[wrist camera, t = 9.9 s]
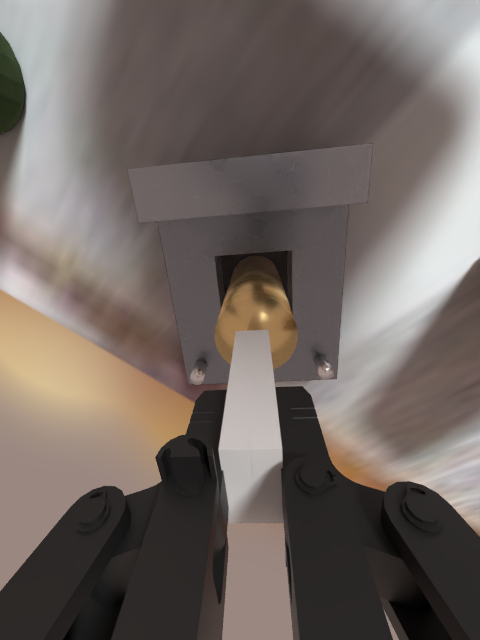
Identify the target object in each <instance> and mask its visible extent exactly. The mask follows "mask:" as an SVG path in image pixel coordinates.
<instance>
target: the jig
mask: <svg viewBox="0 0 480 640" xmlns="http://www.w3.org/2000/svg"><path fill="white" fill-rule="evenodd" d="M372 149H373V143H370V144H360V145H351V146H341V147H331V148H322V149H312V150H303V151H293V152H283V153H274V154H264V155H255V156H245V157H235V158H226V159H216V160H206V161H197V162H187V163H178V164H168V165H158V166H149V167H139V168H129V169H127V171H128V175H129V180H130V185H131V189H132V194H133V199H134V203H135V208H136V213H137V217H138V222H139V223H140V222H152V221H157V222H158V227H159V233H160V238H161V243H162V248H163V254H164V259H165V264H166V269H167V275H168V280H169V285H170V291H171V296H172V301H173V306H174V312H175V317H176V322H177V327H178V333H179V338H180V343H181V349H182V354H183V359H184V364H185V370H186V375H187V380H188V385H193V384H195V385H199V384H219V383H228V381H229V374H230V367H231V365H230V364H229V363H228V362H226V361H225V360H224V359H223V357H222V356H221V355H220V353H219V351H218V349H217V347H216V343H215V336H214V334H215V327H216V324H217V321H218V317H219V314H220V311H221V308H222V305H223V302H224V299H225V292H224V283H223V274H222V265H221V256H222V255H236V254H249V253H262V252H275V251H287V273H288V302H289V305H290V308H291V311H292V314H293V317H294V320H295V323H296V326H297V330H298V341H297V345H296V348H295V350H294V352H293V354H292V355H291V357H290V358H289V359H288V360H287V361H286V362H285V363H284V364H282V365H281V366H279V367H278V368H276V369H273V373H274V381H299V380H329V379H337V369H338V354H339V339H340V324H341V310H342V295H343V280H344V265H345V250H346V236H347V221H348V206H349V204H358V203H368V192H369V181H370V171H371V160H372Z"/></svg>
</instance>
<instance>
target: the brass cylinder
mask: <svg viewBox="0 0 480 640" xmlns="http://www.w3.org/2000/svg"><path fill="white" fill-rule="evenodd" d="M268 329H269V338H270V347H271V355H272V364H273V369H276V368H278V367H279V366H281V365H282V364H284V363H285V362H286V361H287V360H288V359H289V358H290V357H291V355H292V354H293V352H294V350H295V348H296V345H297V341H298V330H297V326H296V323H295V320H294V317H293V314H292V311H291V308H290V305H289V302H288V299H287V296H286V293H285V291H284V288H283V285H282V282H281V279H280V276H279V273H278V270H277V268H276V266H275V265H274V264H273V263H272V262H271V261H270V260H269V259H267V258H265V257H261V256H250V257H247V258H245V259H243V260H242V261H240V262H239V263H238V264H237V266H236V267H235V269H234V271H233V274H232V277H231V280H230V283H229V286H228V289H227V293H226V296H225V299H224V302H223V305H222V308H221V311H220V314H219V317H218V321H217V324H216V327H215V334H214V336H215V343H216V347H217V349H218V351H219V353H220V355H221V356H222V357H223V359H224V360H225V361H226V362H228V363H229V364H230V365H231V360H232V354H233V347H234V340H235V333H236V331H250V330H268Z"/></svg>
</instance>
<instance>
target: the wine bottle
mask: <svg viewBox="0 0 480 640" xmlns="http://www.w3.org/2000/svg"><path fill="white" fill-rule="evenodd" d="M23 106H24V82H23V78H22V74H21V69H20V65H19V63H18V61H17V59H16V57H15V55H14V53H13V50H12V48H11V46H10V44H9V43H8V41H7V40H6V39H5V37H4V36H3V35H2V34H1V32H0V134H2V133H5V132H7V131H9V130H10V129H11V128H12V127H13V126H14V125H15V124H16V123H17V121H18V120H19V118H20V115H21V112H22V109H23Z"/></svg>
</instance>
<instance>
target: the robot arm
mask: <svg viewBox="0 0 480 640" xmlns="http://www.w3.org/2000/svg"><path fill="white" fill-rule="evenodd" d="M156 461H157V465H158V468H159V472H160V476H161V479H162V481H161V482H160V483H158V484H157V485H155V486H153V487H150V488H148V489H145V490H142V491H139V492H136V493H133V494H130V495H127V496H124V494H123V492H122V490H120V489H118V488H117V487H115V486H103V487H100V488H97V489H94V490H92V491H90V492H88V493H87V494H85V495H83V496H82V497H80V499H78V500H77V501H76V502H75V503H74V504H73V505H72V506H71V507H70V508H69V510H68V511H67V512H66V513H65V515H63V517H62V518H61V519H60V520H59V522H58V523H57V524H56V525H55V526H54V528H53V529H52V530H51V531H50V532H49V534H48V535H47V536H46V537H45V538H44V540H43V541H42V542H41V543H40V544H39V546H38V547H37V548H36V549H35V550H34V552H33V553H32V554H31V555H30V556H29V558H28V559H27V560H26V561H25V563H24V564H23V565H22V566H21V567H20V569H19V570H18V571H17V572H16V573H15V574H14V576H13V577H12V578H11V579H10V580H9V582H8V583H7V584H6V585H5V586H4V588H3V589H2V590H1V591H0V640H222V630H223V617H224V616H223V615H224V603H225V589H226V575H227V562H228V539H227V523H228V516H229V523H284V530H285V547H286V548H285V549H286V551H285V552H286V566H287V572H288V584H289V595H290V606H291V618H292V629H293V640H393V639H392V635H391V632H390V629H389V626H388V623H387V620H386V616H385V613H384V610H385V612H386V614H387V616H388V618H389V620H390V622H391V624H392V626H393V628H394V630H395V632H396V634H397V636H398V638H399V640H480V537H479V536H478V535H477V534H476V532H475V531H474V530H473V529H472V528H471V527H470V526H469V525H468V524H467V523H466V521H465V520H464V519H463V518H462V517H461V516H460V515H459V514H458V513H457V511H456V510H455V509H454V508H453V507H452V506H451V505H450V504H449V503H448V502H447V501H446V500H445V499H443V498H442V497H441V496H440V495H439V494H438V493H436V492H434V491H433V490H431V489H429V488H427V487H425V486H423V485H420V484H417V483H413V482H409V481H408V482H396V483H394V484H393V485H391V486H389V487H388V488H387V490H386V492H384V491H380V490H377V489H374V488H370V487H367V486H363V485H360V484H358V483H355V482H353V481H351V480H349V479H348V478H346V477H345V476H343V475H342V474H341V473H340V472H339V471H338V470H337V469H336V468H335V466H334V465H333V464H332V462H331V460H330V457H329V454H328V451H327V448H326V444H325V441H324V438H323V434H322V431H321V428H320V424H319V421H318V419H317V414H316V411H315V409H314V404H313V401H312V397H311V395H310V394H309V393H308V392H307V391H306V390H305V389H304V388H303V387H302V386H295V387H275V382H274V373H273V364H272V355H271V347H270V338H269V329H268V330H250V331H236V333H235V340H234V347H233V354H232V360H231V367H230V374H229V381H228V388H227V390H214V391H204V392H203V393H202V394H201V395H200V397H199V398H198V399H197V400H196V402H195V406H194V409H193V414H192V416H191V419H190V423H189V426H188V429H187V433H186V435H181V436H178V437H176V438H174V439H172V440H170V441H169V442H167V443H166V444H165V445H164V446H163V447H162V448H161V449H160V451H159V452H158V454H157V456H156ZM382 606H383V607H382ZM383 608H384V610H383Z"/></svg>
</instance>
